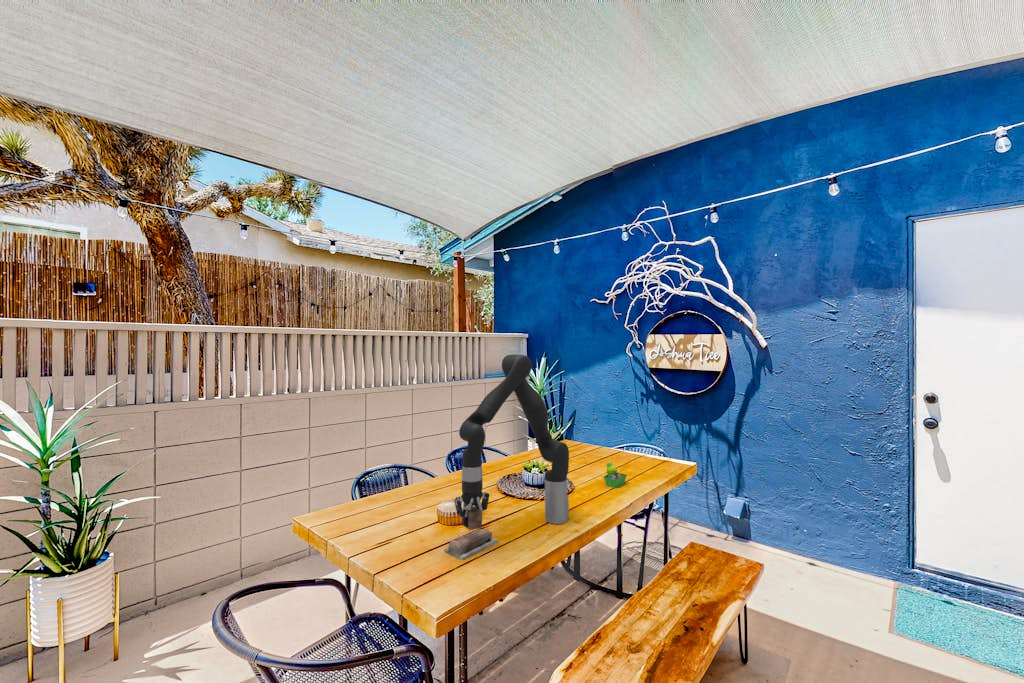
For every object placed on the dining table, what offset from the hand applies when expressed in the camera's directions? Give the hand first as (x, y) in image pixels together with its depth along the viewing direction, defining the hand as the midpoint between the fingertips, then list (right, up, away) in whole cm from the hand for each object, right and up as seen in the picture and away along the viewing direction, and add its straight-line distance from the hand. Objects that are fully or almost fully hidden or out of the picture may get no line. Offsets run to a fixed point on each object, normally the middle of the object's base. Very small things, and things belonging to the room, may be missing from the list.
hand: (472, 524), depth 157 cm
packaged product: (0, -9, +1) cm, 9 cm away
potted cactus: (+68, -9, +69) cm, 98 cm away
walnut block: (0, -1, 0) cm, 1 cm away
